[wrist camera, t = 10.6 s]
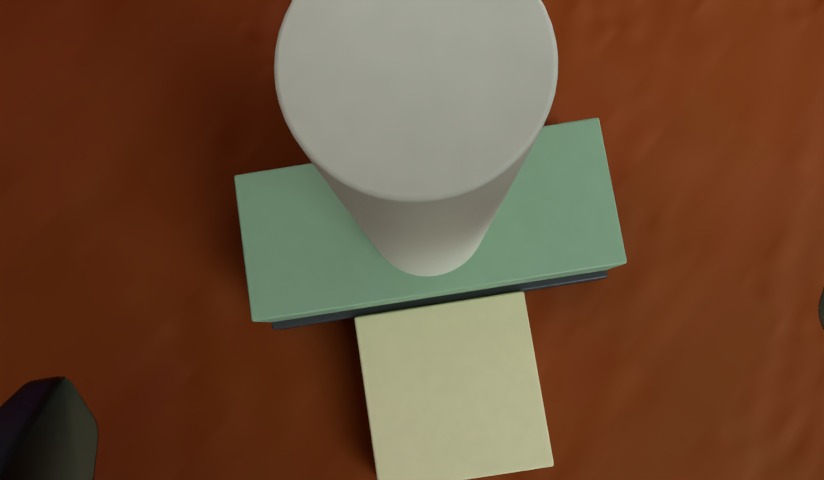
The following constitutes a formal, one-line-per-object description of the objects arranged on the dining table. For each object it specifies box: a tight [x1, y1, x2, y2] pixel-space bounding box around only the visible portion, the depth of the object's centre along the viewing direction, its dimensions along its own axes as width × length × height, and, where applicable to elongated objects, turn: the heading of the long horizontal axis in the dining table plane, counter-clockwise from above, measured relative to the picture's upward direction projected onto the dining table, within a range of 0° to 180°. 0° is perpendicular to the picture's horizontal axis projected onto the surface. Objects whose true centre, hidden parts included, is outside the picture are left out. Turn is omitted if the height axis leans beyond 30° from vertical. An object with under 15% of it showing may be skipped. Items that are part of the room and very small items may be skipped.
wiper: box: [234, 0, 627, 330], centre depth 13 cm, size 4×9×13 cm, turn 99°
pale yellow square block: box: [354, 291, 554, 480], centre depth 19 cm, size 4×4×1 cm
